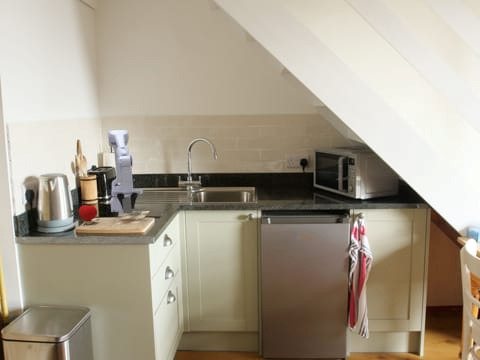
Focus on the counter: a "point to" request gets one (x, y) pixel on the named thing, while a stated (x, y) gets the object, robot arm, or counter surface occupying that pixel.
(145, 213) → the socket board
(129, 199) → the plug
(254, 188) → the counter surface
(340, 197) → the counter surface
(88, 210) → the red heart ornament
